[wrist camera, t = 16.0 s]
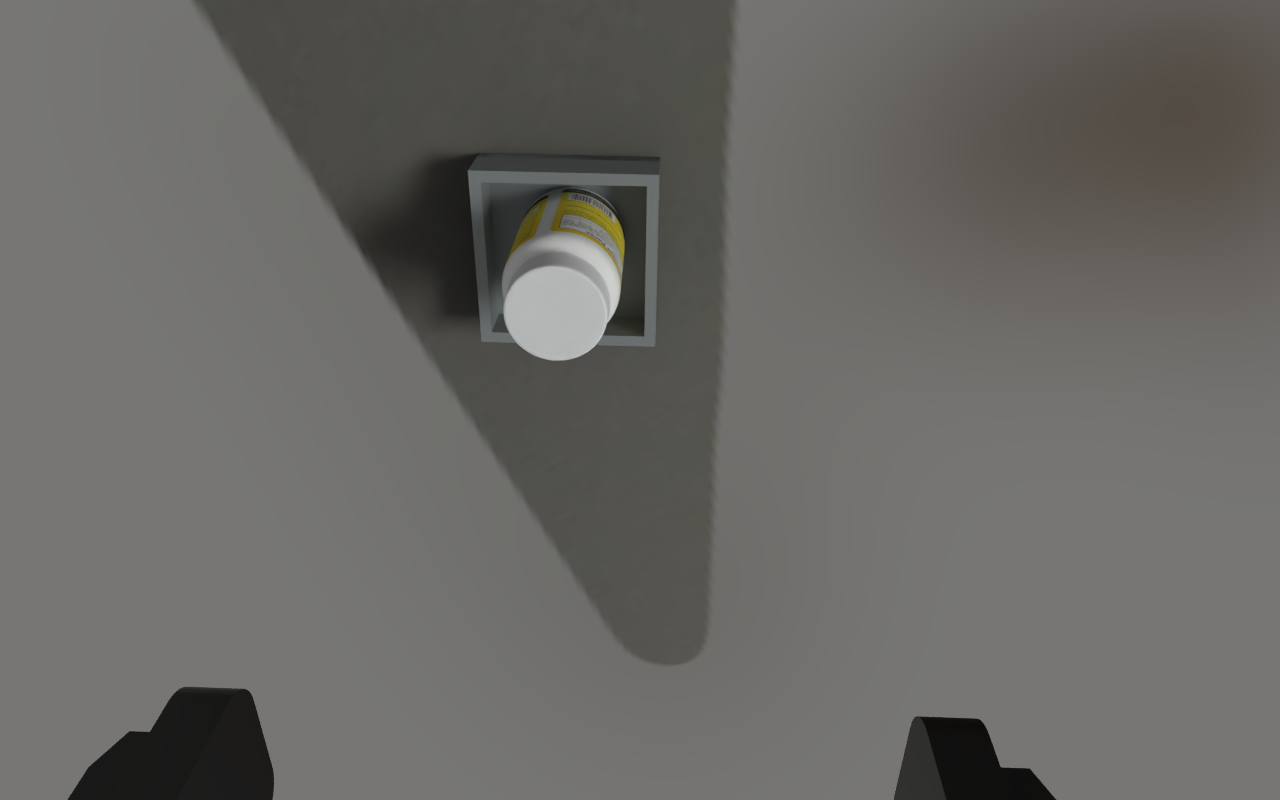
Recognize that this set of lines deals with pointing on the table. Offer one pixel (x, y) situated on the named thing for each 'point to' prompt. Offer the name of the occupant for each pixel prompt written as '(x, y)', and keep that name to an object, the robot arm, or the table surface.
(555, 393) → the table surface
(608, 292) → the supplement bottle
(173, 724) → the robot arm
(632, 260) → the tray
